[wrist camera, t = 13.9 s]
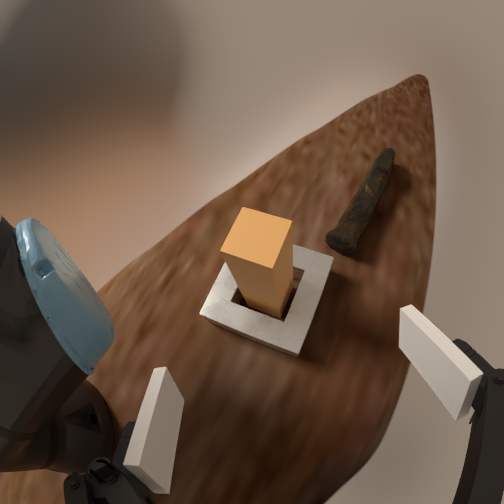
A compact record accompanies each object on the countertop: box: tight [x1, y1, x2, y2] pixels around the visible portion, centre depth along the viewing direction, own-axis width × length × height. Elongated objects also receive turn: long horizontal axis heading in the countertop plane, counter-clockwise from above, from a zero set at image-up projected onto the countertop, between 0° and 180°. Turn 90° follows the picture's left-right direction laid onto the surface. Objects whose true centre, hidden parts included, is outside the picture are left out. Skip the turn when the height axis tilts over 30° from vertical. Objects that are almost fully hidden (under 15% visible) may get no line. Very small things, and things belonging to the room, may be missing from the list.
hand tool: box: [325, 148, 395, 256], centre depth 35 cm, size 19×4×5 cm, turn 142°
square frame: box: [199, 244, 334, 357], centre depth 31 cm, size 11×11×4 cm
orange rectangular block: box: [220, 207, 293, 318], centre depth 27 cm, size 4×4×14 cm
